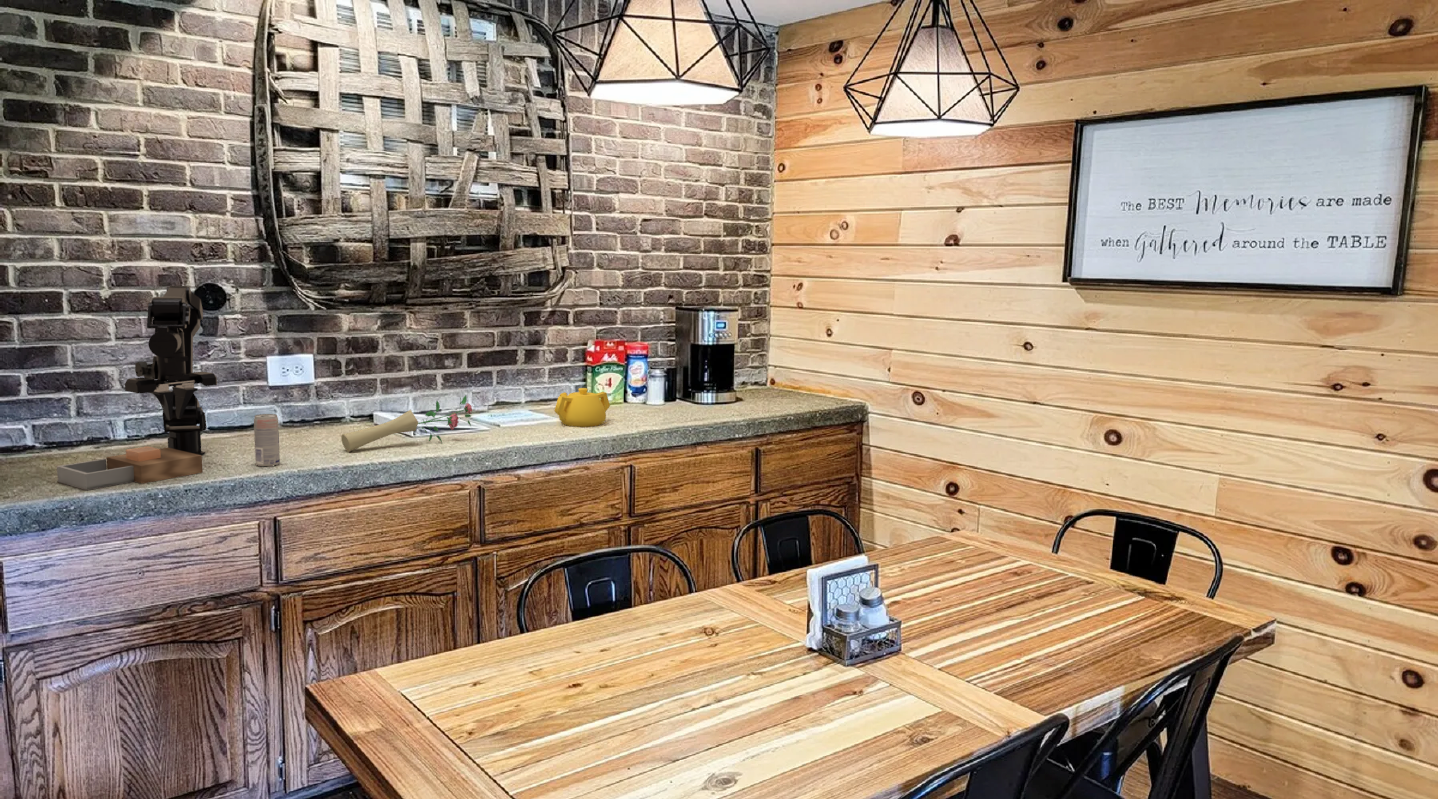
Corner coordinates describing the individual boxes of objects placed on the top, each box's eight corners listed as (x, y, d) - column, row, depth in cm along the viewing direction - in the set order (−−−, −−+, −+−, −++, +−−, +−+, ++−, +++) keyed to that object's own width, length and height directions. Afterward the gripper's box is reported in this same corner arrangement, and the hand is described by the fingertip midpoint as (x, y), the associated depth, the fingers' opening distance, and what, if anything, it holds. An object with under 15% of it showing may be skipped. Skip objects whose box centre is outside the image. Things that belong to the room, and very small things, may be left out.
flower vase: (350, 476, 264) (467, 434, 286) (365, 472, 255) (485, 428, 277) (334, 434, 264) (452, 395, 285) (348, 428, 254) (470, 387, 276)
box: (105, 473, 229) (104, 458, 228) (134, 481, 223) (133, 466, 222) (57, 481, 220) (56, 466, 220) (86, 490, 214) (85, 474, 214)
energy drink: (276, 461, 247) (274, 413, 245) (282, 465, 242) (280, 416, 241) (253, 463, 243) (251, 414, 241) (258, 467, 239) (257, 418, 237)
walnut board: (168, 463, 240) (167, 447, 240) (202, 472, 233) (201, 455, 232) (107, 474, 228) (106, 457, 228) (141, 483, 221) (140, 465, 221)
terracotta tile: (148, 454, 231) (148, 446, 231) (160, 457, 229) (160, 449, 228) (126, 458, 227) (125, 449, 227) (138, 461, 225) (138, 452, 224)
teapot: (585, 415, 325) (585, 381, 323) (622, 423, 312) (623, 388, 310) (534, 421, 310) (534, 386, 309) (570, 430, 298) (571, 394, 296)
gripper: (189, 346, 243) (192, 409, 245) (109, 352, 227) (113, 420, 229) (216, 350, 237) (219, 415, 239) (136, 356, 221) (141, 426, 224)
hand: (174, 419), depth 233 cm, fingers closed
